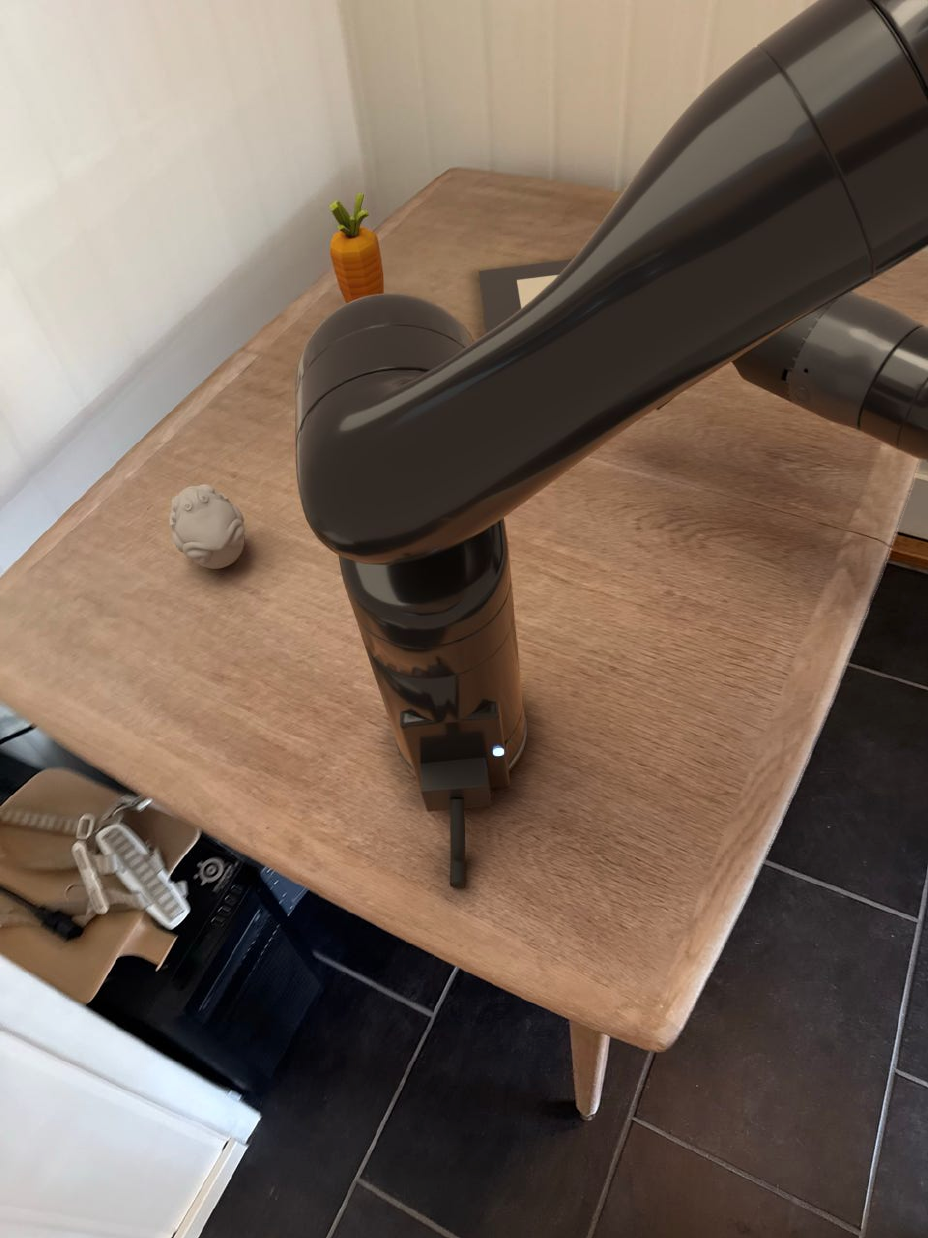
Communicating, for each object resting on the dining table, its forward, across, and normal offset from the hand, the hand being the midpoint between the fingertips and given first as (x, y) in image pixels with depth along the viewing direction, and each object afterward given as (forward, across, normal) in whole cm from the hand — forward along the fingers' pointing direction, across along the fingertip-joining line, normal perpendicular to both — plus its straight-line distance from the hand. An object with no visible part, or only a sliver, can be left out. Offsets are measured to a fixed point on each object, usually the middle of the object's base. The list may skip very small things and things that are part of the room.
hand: (626, 262), depth 66 cm
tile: (+16, -11, +18) cm, 27 cm away
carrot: (+31, +4, +18) cm, 36 cm away
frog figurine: (+16, +33, +18) cm, 41 cm away
